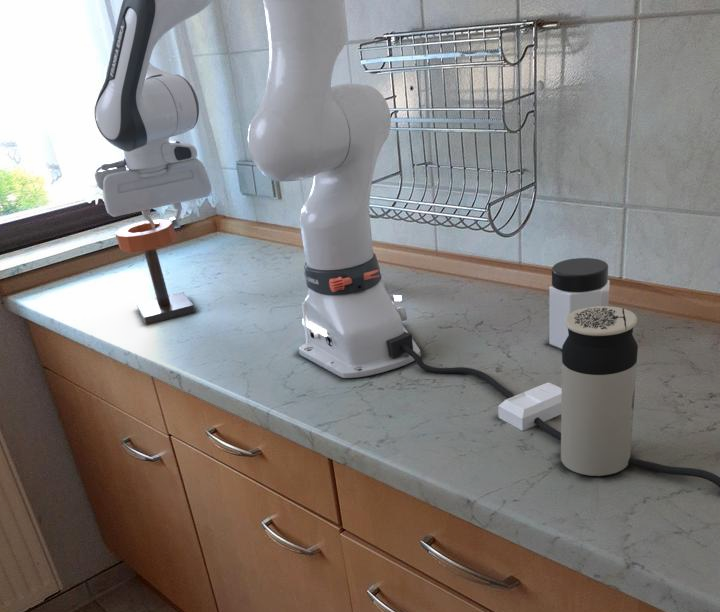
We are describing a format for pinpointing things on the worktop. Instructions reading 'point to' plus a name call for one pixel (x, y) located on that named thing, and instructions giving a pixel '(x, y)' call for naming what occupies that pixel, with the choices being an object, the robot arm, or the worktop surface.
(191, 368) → the worktop surface
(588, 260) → the jar
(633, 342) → the travel mug
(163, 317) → the peg stand
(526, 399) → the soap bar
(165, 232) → the ring
